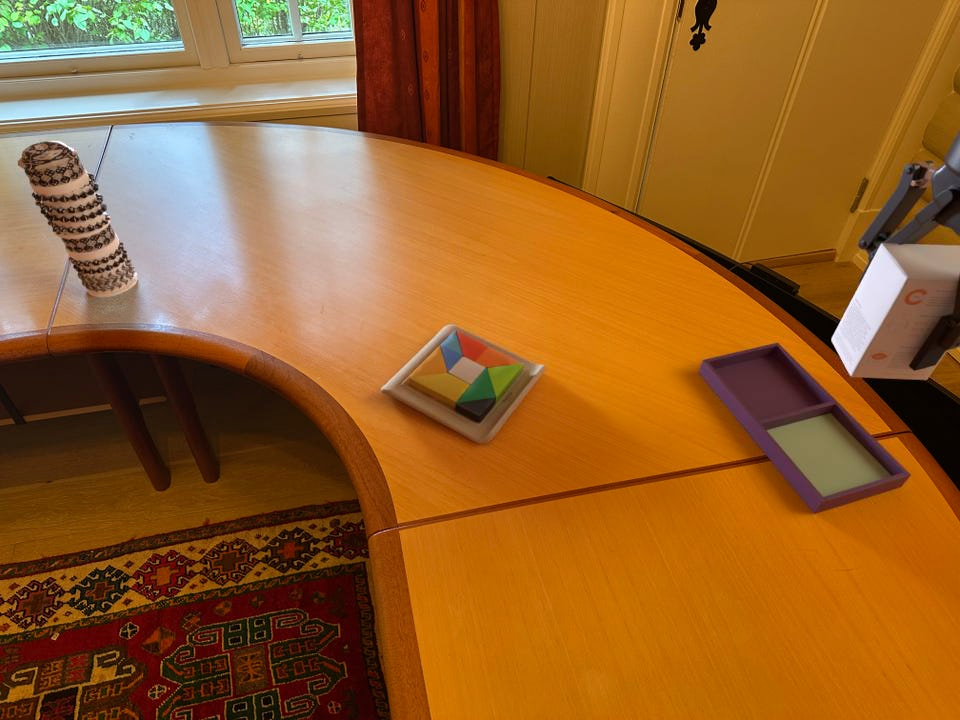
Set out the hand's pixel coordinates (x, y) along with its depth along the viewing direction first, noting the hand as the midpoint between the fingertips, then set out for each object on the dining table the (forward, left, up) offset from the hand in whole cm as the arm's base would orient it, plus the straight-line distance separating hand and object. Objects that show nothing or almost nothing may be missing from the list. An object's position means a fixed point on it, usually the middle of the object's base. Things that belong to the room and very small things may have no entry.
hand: (889, 339), depth 64 cm
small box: (0, 0, -3) cm, 3 cm away
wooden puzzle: (+27, +40, -22) cm, 53 cm away
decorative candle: (+70, +93, -22) cm, 118 cm away
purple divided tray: (+6, -1, -21) cm, 22 cm away
